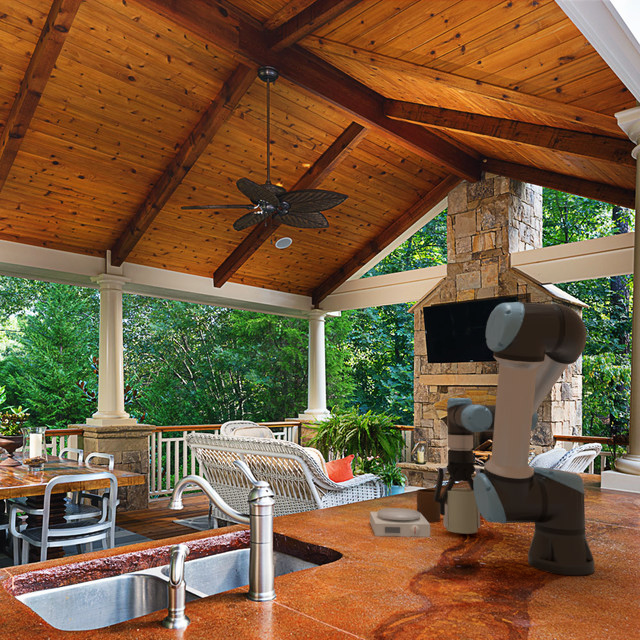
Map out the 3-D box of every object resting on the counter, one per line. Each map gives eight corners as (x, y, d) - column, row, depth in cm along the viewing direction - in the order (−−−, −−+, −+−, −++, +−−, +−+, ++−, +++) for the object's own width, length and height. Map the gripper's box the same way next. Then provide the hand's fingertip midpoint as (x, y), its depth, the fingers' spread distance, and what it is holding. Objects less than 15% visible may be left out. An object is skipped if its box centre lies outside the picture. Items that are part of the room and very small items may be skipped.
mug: (448, 517, 194) (448, 488, 195) (456, 522, 187) (456, 492, 188) (413, 517, 192) (413, 488, 193) (420, 522, 185) (420, 492, 186)
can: (478, 534, 166) (477, 491, 167) (446, 532, 168) (445, 490, 169) (476, 527, 175) (476, 487, 176) (445, 525, 176) (445, 485, 178)
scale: (430, 537, 167) (430, 519, 168) (375, 536, 167) (375, 518, 167) (420, 523, 183) (420, 507, 184) (370, 523, 183) (370, 506, 184)
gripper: (492, 448, 178) (494, 524, 175) (422, 447, 178) (423, 523, 175) (500, 450, 171) (502, 530, 168) (427, 449, 170) (427, 528, 167)
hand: (461, 526), depth 171 cm, fingers closed on can, 9 cm apart
